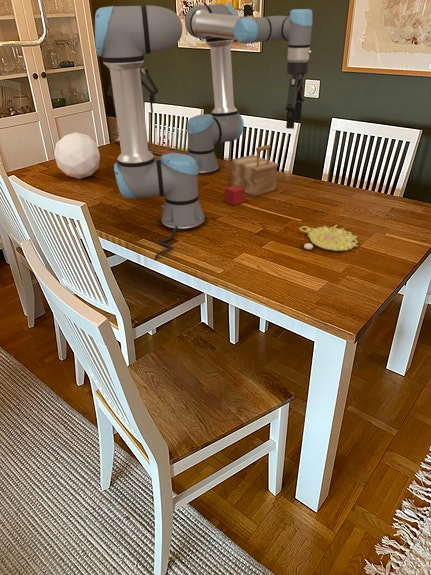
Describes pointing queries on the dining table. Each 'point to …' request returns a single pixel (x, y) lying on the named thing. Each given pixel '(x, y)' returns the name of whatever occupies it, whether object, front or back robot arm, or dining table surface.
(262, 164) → the lid
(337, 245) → the decorative object
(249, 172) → the chest
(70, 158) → the sphere
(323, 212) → the dining table surface
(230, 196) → the block
